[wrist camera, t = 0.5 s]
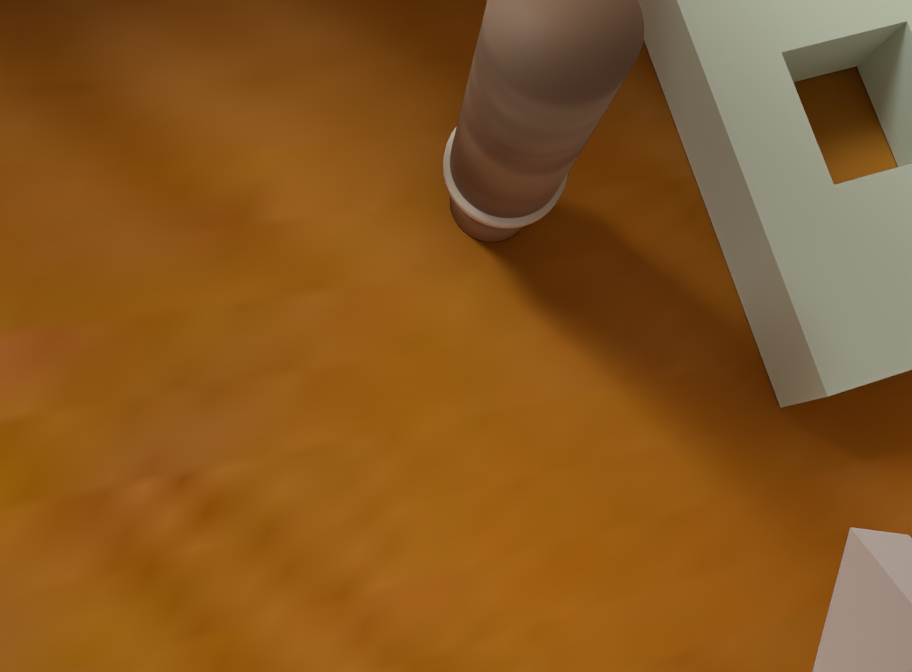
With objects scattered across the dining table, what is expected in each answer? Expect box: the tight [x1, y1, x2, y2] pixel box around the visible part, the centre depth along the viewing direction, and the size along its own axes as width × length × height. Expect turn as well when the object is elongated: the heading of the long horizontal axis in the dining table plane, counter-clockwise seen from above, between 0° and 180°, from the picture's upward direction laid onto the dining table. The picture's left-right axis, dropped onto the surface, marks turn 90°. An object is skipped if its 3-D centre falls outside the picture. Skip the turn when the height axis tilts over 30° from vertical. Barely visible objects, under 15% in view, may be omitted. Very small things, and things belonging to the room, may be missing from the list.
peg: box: [443, 0, 644, 242], centre depth 27 cm, size 4×4×13 cm
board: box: [638, 0, 912, 408], centre depth 34 cm, size 20×12×4 cm, turn 17°
